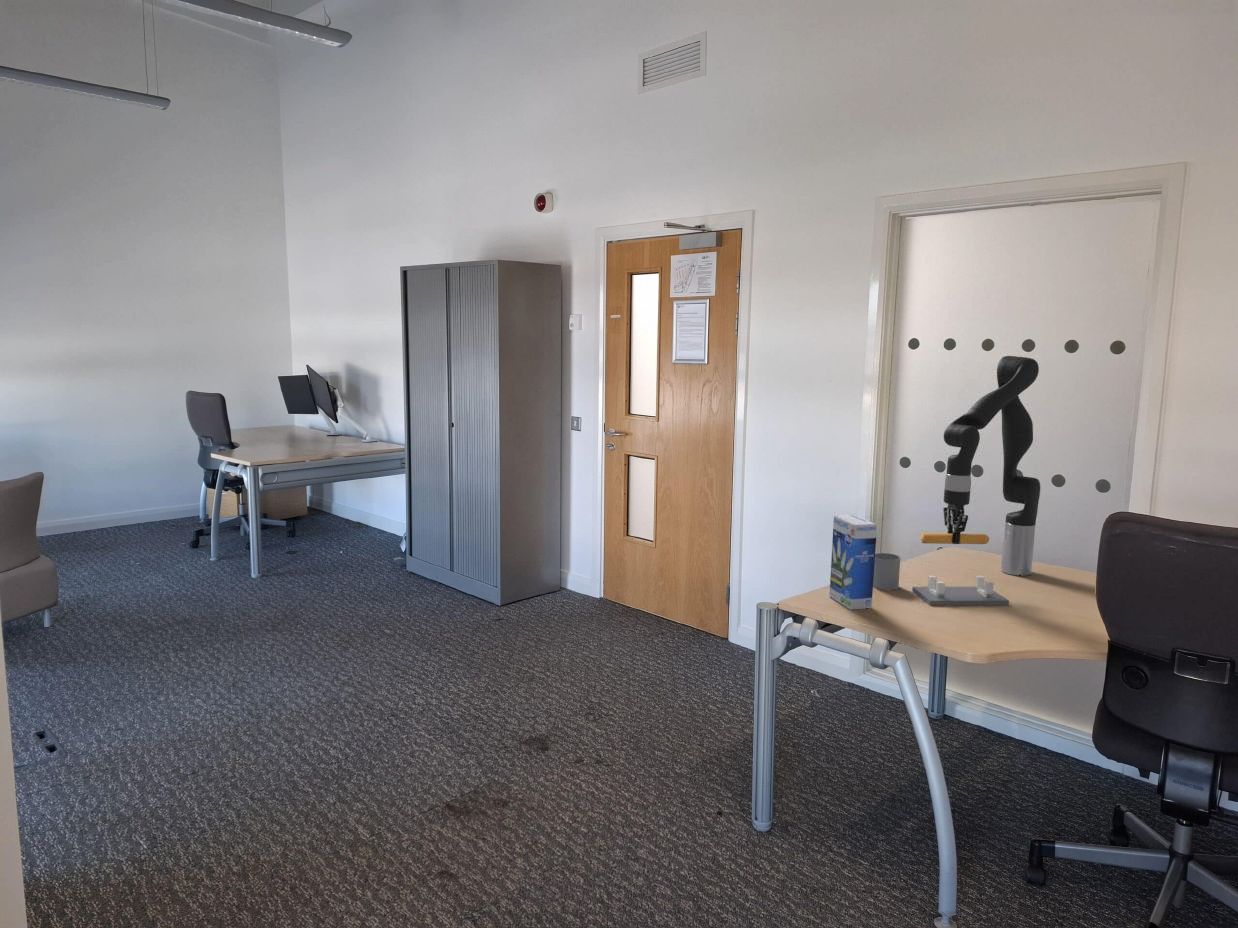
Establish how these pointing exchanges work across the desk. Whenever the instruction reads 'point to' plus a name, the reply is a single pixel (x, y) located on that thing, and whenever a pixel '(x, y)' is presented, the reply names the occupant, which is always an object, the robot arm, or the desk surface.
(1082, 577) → the desk surface
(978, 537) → the orange rod
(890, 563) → the cup
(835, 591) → the string lights box
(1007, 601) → the board
